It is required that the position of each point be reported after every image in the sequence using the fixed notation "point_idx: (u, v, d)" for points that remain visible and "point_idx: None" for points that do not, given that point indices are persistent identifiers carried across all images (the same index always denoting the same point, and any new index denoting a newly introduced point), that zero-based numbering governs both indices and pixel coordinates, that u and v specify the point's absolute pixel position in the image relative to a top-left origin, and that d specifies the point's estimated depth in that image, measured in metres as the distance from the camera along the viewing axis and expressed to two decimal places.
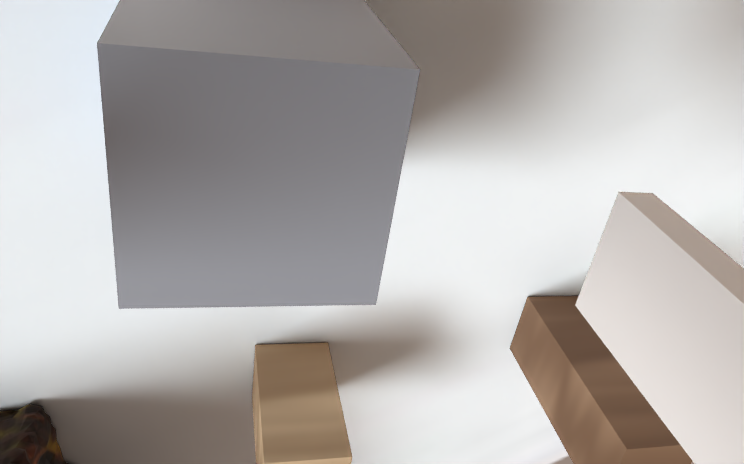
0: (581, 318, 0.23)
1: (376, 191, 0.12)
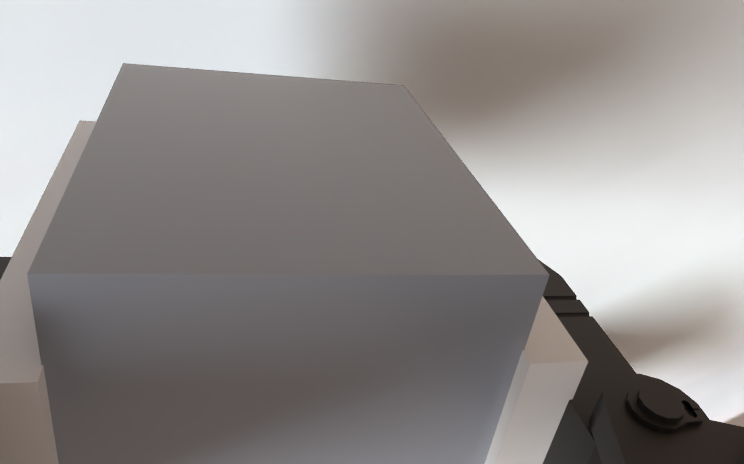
0: None
1: (467, 432, 0.08)
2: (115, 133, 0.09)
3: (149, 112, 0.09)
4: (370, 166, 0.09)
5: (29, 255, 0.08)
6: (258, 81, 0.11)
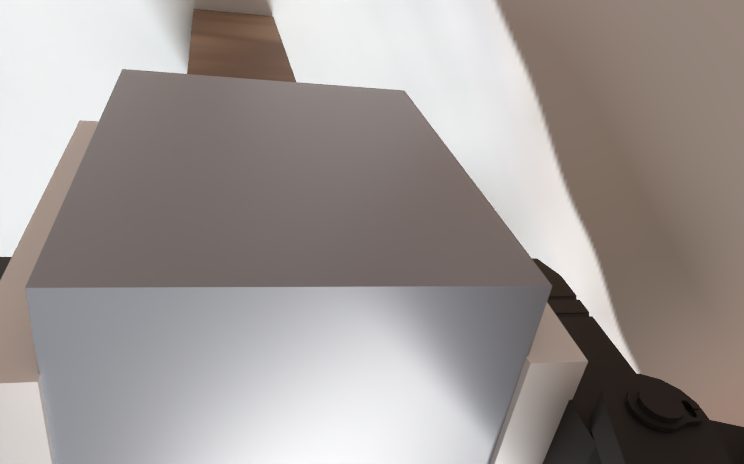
0: None
1: (468, 443, 0.08)
2: (114, 141, 0.08)
3: (148, 119, 0.09)
4: (371, 174, 0.09)
5: (29, 255, 0.08)
6: (258, 87, 0.11)
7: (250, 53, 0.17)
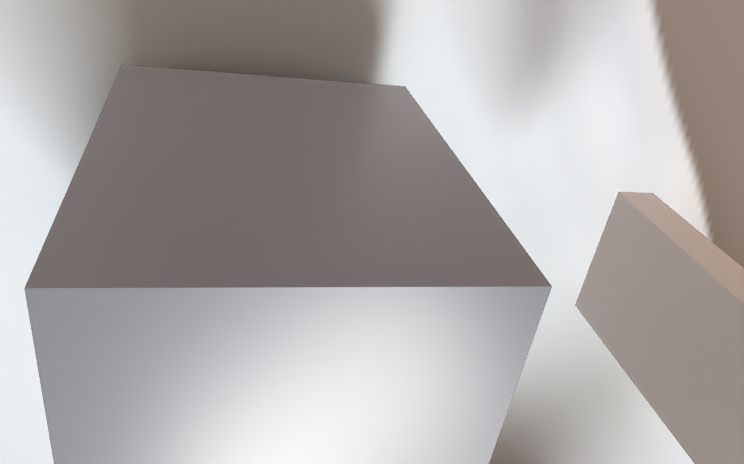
0: None
1: (467, 441, 0.08)
2: (114, 138, 0.08)
3: (148, 116, 0.09)
4: (371, 172, 0.09)
5: None
6: (258, 82, 0.11)
7: None
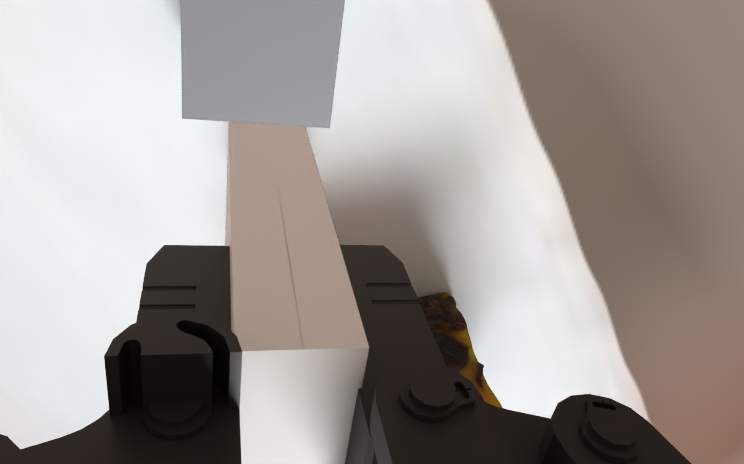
0: None
1: (326, 51, 0.22)
2: None
3: None
4: None
5: (246, 242, 0.09)
6: None
7: None
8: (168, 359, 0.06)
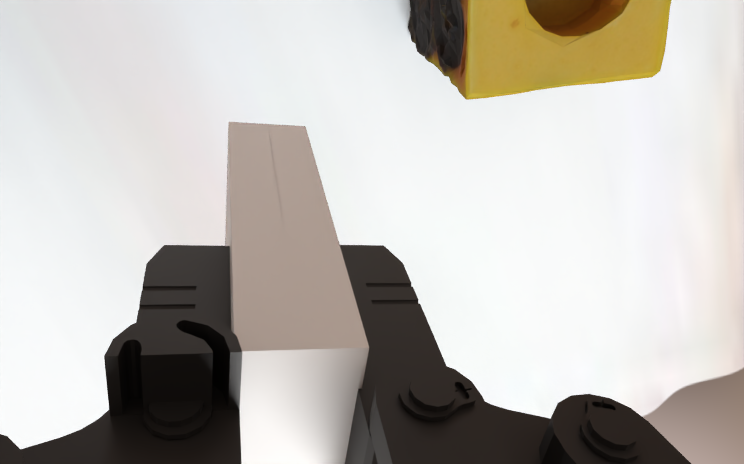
0: None
1: None
2: None
3: None
4: None
5: (246, 242, 0.09)
6: None
7: None
8: (169, 359, 0.06)
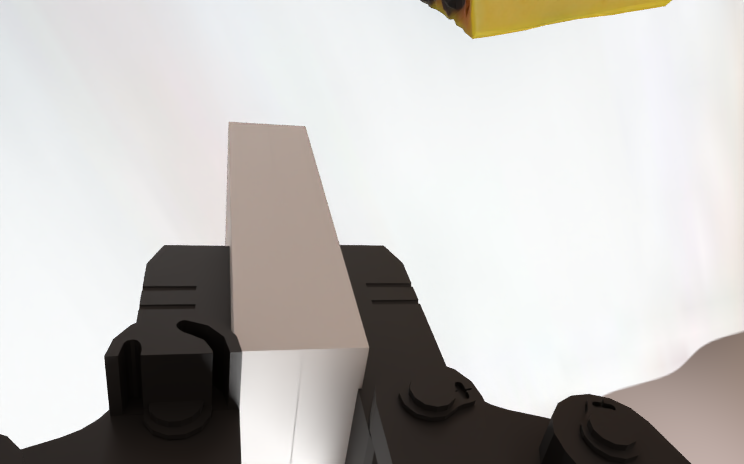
0: None
1: None
2: None
3: None
4: None
5: (246, 242, 0.09)
6: None
7: None
8: (169, 359, 0.06)
